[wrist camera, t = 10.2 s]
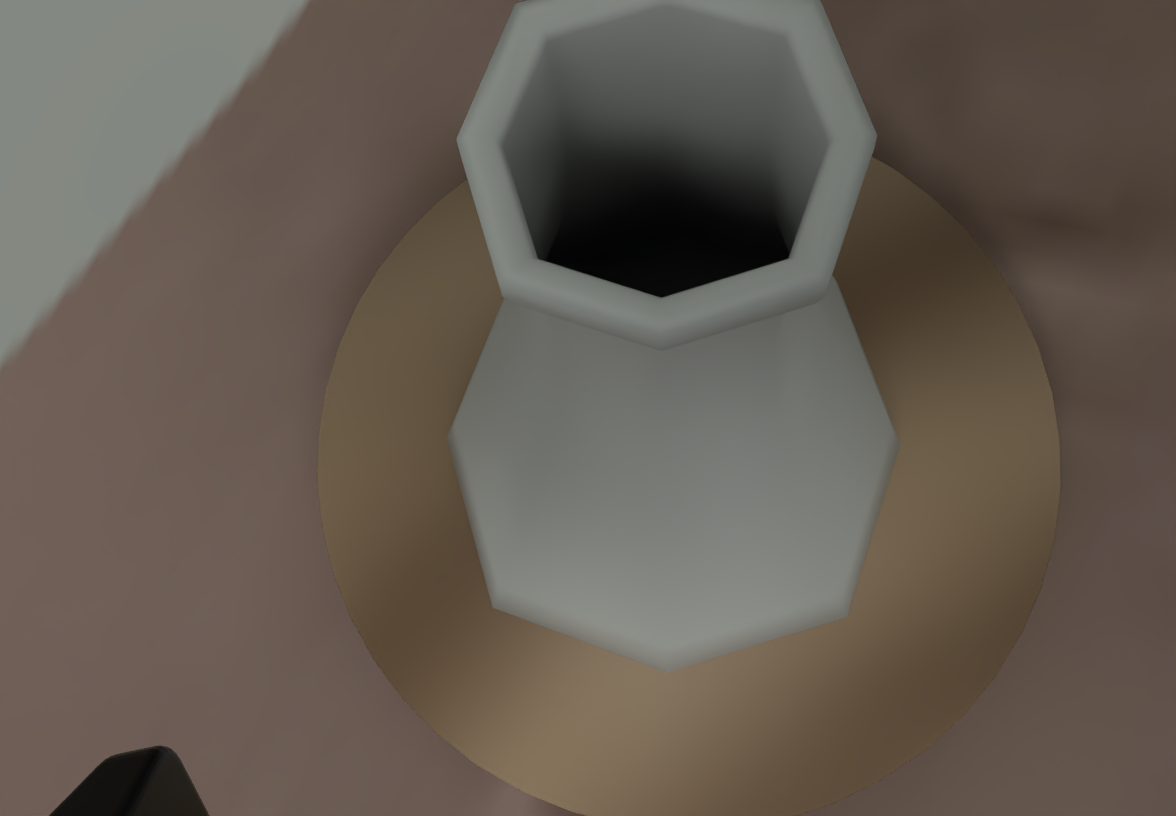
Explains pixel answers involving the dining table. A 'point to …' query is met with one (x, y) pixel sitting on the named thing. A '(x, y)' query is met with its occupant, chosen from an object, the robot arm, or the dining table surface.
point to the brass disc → (748, 676)
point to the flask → (670, 327)
